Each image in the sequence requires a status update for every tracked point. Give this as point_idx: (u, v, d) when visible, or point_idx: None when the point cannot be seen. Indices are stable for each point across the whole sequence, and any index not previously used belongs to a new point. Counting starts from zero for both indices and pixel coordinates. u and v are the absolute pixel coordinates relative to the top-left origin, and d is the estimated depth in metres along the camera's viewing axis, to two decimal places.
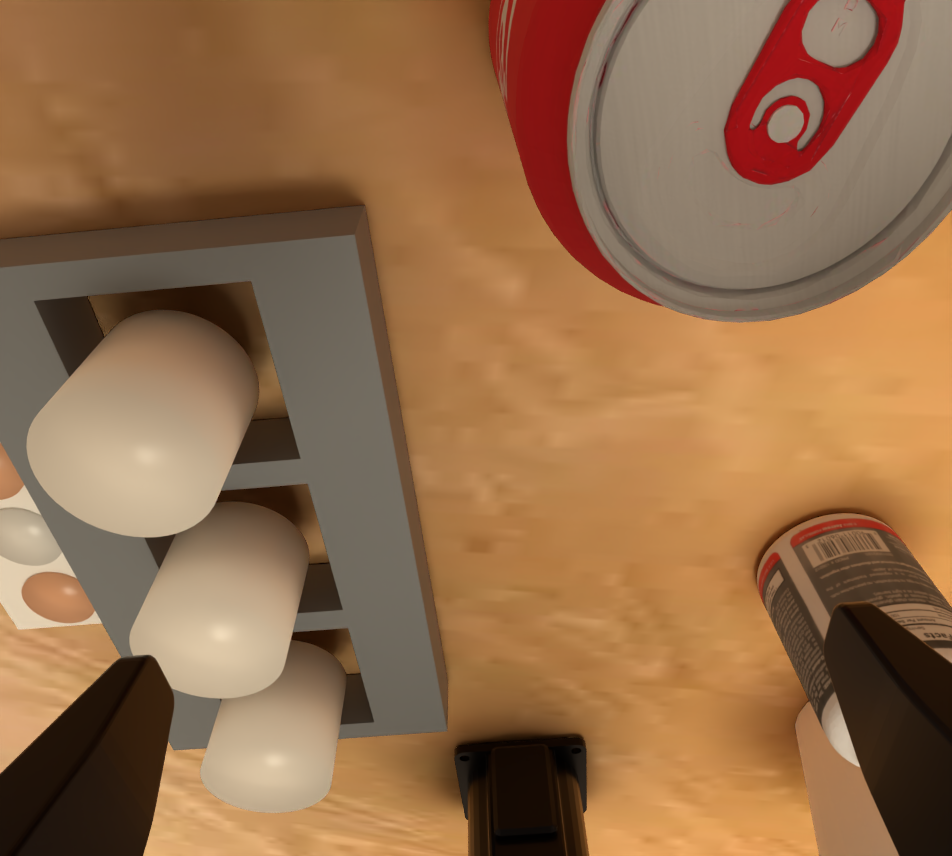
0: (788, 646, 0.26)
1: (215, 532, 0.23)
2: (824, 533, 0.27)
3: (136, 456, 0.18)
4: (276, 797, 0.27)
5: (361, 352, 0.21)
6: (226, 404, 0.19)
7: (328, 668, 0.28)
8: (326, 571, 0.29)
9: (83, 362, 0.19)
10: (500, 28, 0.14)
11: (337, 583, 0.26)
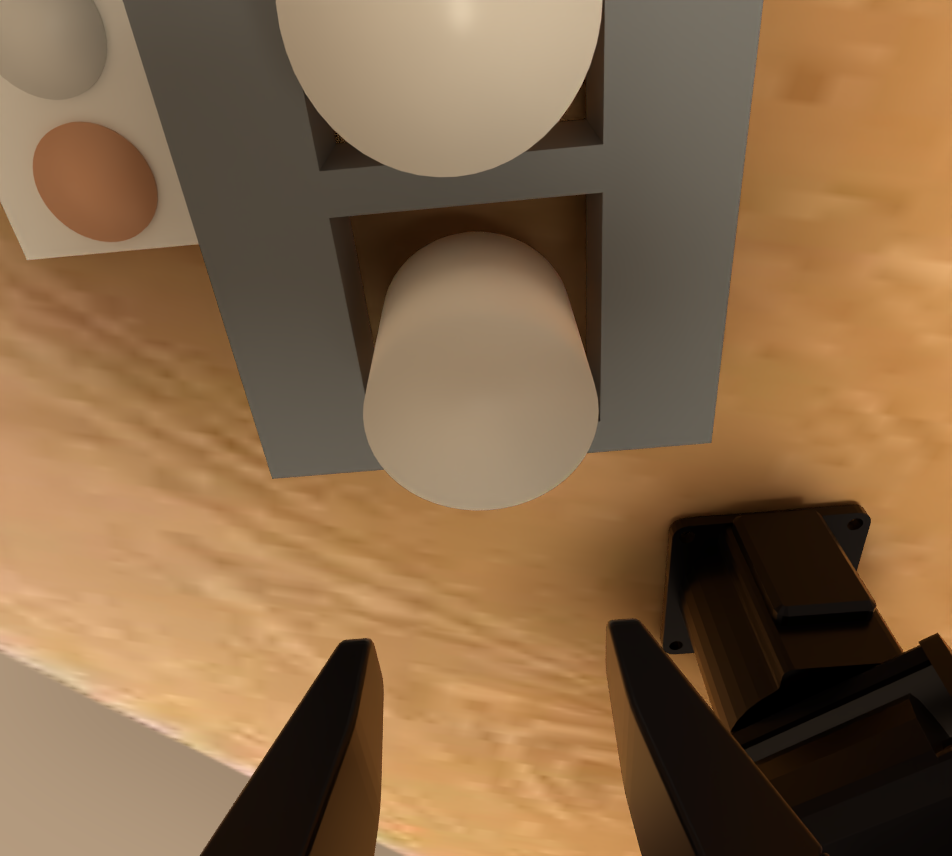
0: None
1: None
2: None
3: None
4: (489, 468, 0.15)
5: None
6: None
7: (558, 280, 0.16)
8: None
9: None
10: None
11: (607, 70, 0.14)
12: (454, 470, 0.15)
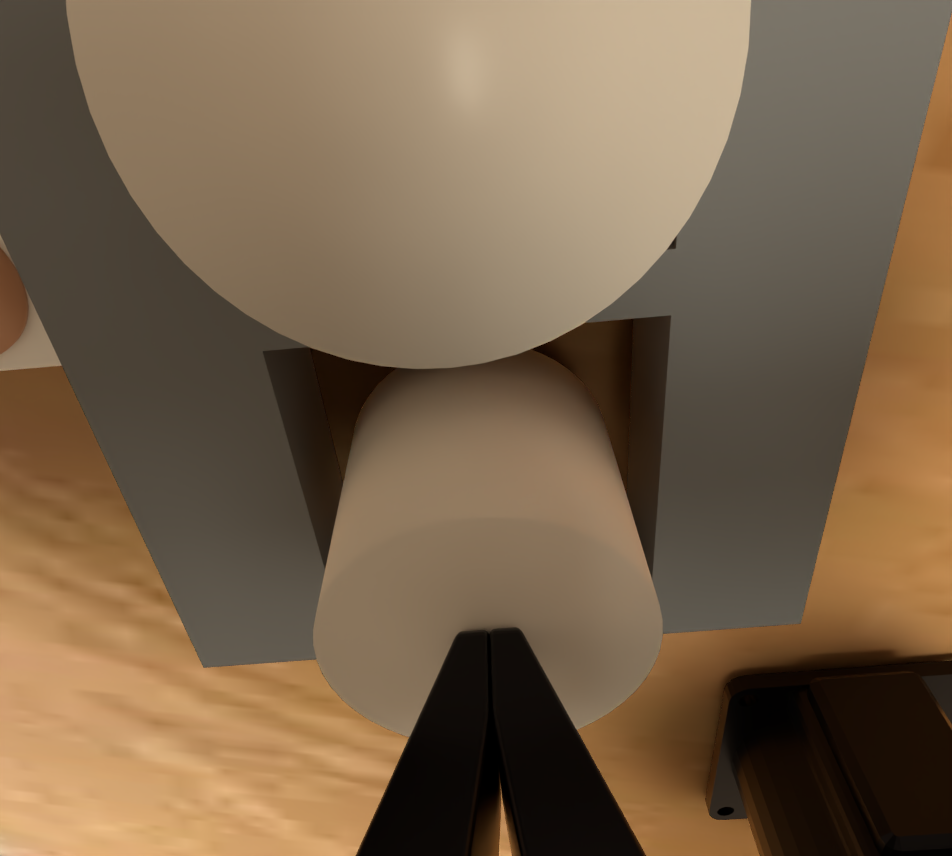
0: None
1: None
2: None
3: None
4: None
5: None
6: None
7: (593, 409, 0.12)
8: None
9: None
10: None
11: None
12: None
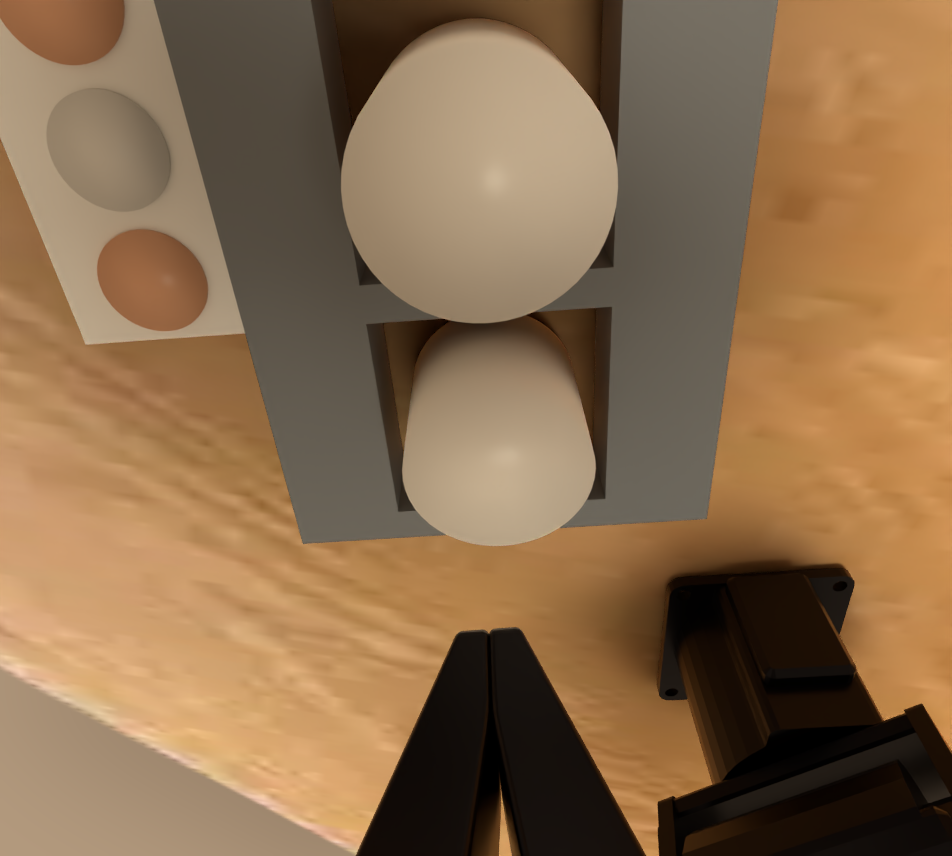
0: None
1: (474, 25, 0.13)
2: None
3: None
4: (503, 512, 0.18)
5: None
6: None
7: (563, 352, 0.20)
8: None
9: None
10: None
11: (618, 207, 0.16)
12: (475, 513, 0.18)
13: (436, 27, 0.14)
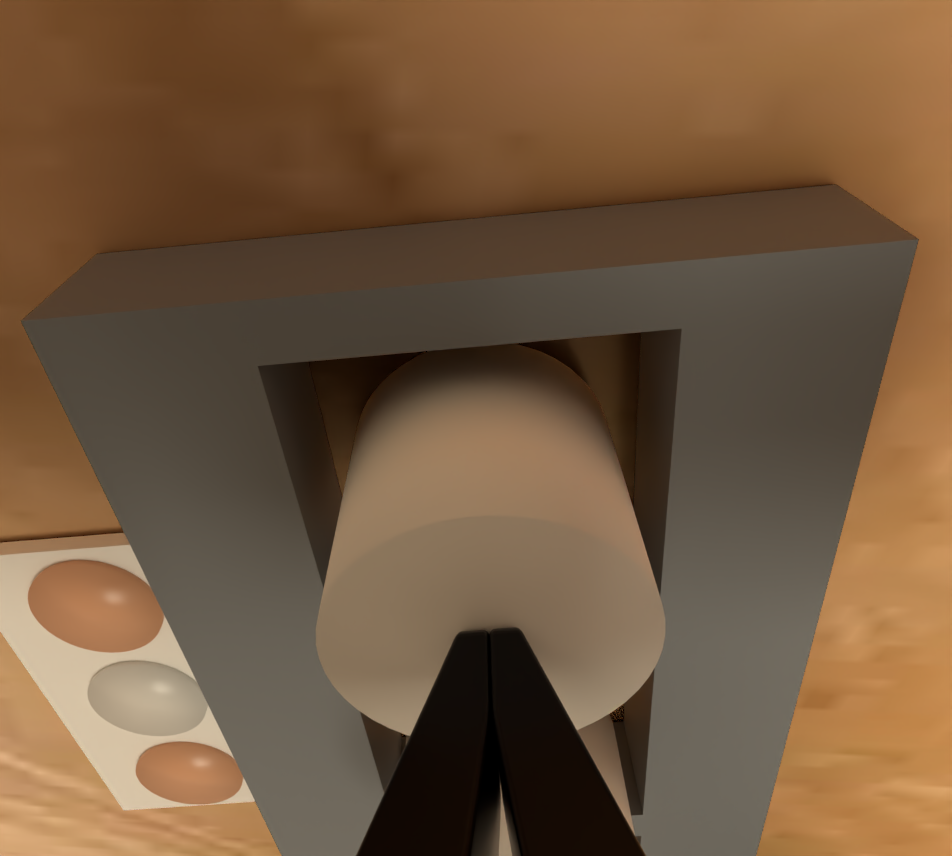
0: None
1: None
2: None
3: (519, 626, 0.09)
4: None
5: (834, 453, 0.11)
6: None
7: None
8: None
9: (389, 441, 0.10)
10: None
11: (648, 783, 0.17)
12: None
13: None
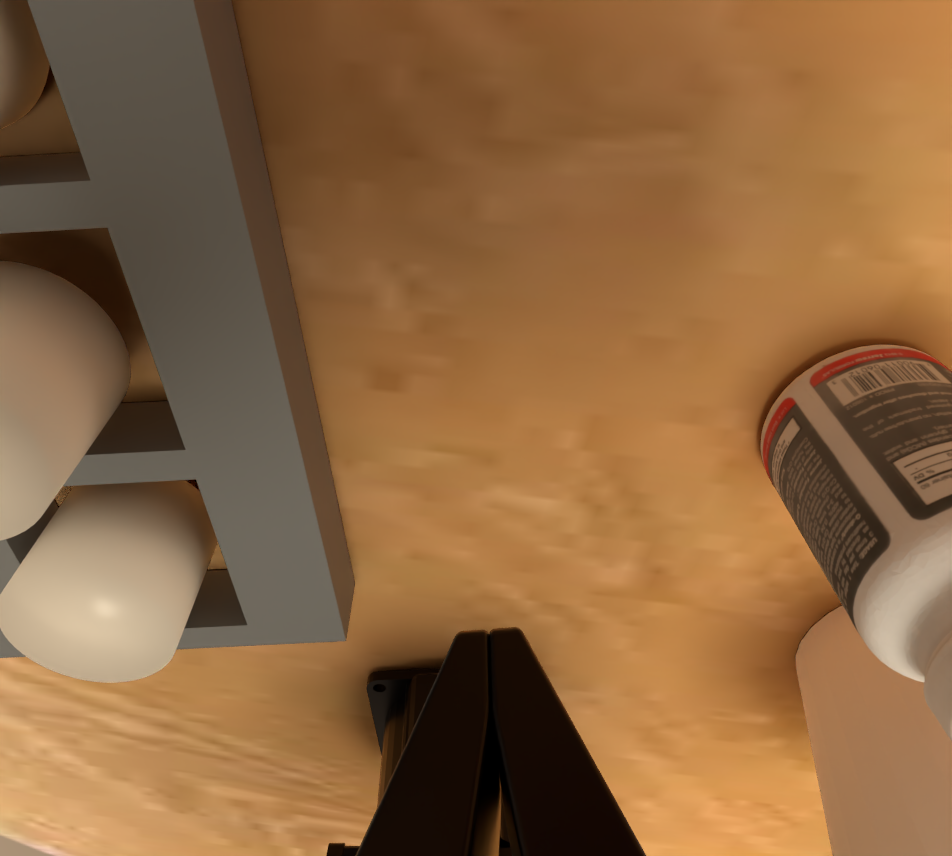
0: (804, 516, 0.19)
1: None
2: (858, 365, 0.20)
3: None
4: (106, 657, 0.20)
5: None
6: None
7: (189, 502, 0.22)
8: None
9: None
10: None
11: (172, 405, 0.18)
12: (80, 658, 0.20)
13: None
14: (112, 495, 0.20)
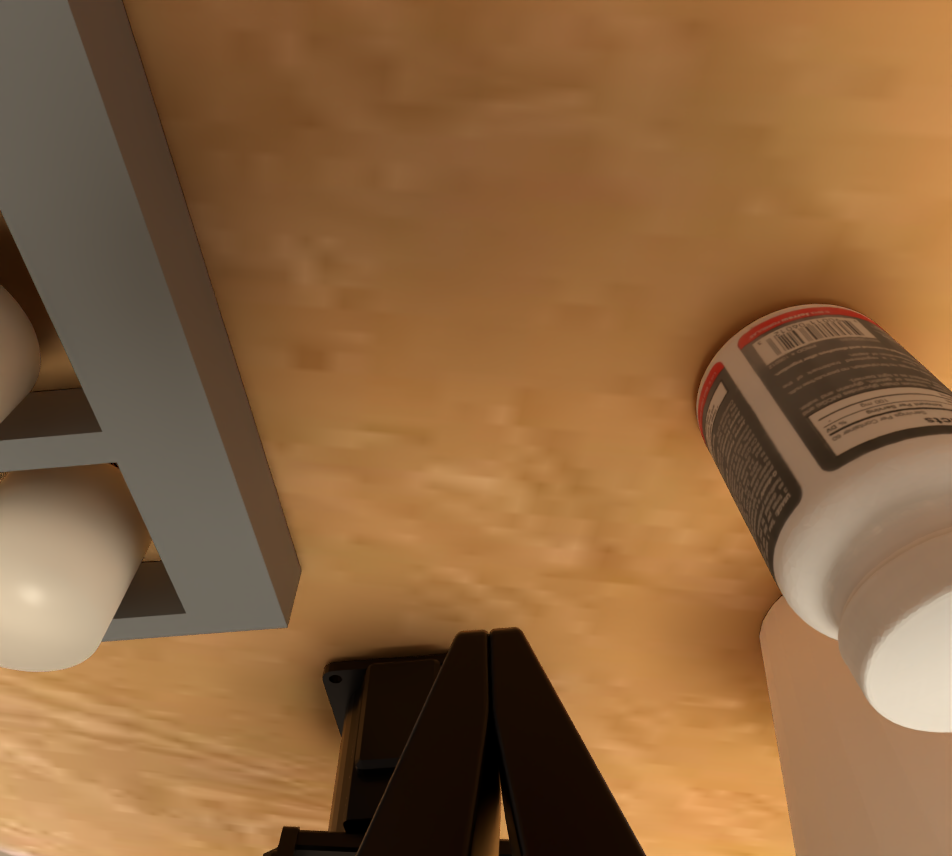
0: (732, 480, 0.19)
1: None
2: (783, 324, 0.19)
3: None
4: (33, 645, 0.20)
5: None
6: None
7: (119, 488, 0.22)
8: None
9: None
10: None
11: (84, 386, 0.18)
12: (7, 647, 0.20)
13: None
14: (37, 482, 0.20)
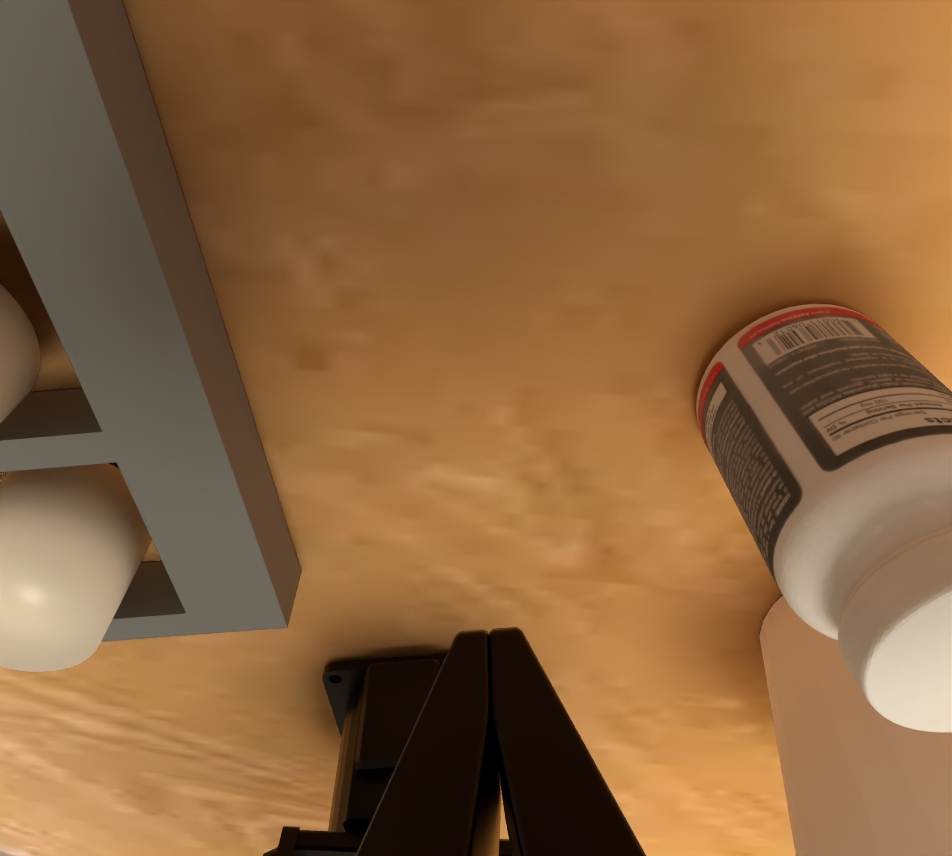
0: (732, 480, 0.19)
1: None
2: (783, 324, 0.19)
3: None
4: (33, 645, 0.20)
5: None
6: None
7: (119, 488, 0.22)
8: None
9: None
10: None
11: (84, 386, 0.18)
12: (7, 647, 0.20)
13: None
14: (37, 482, 0.20)
